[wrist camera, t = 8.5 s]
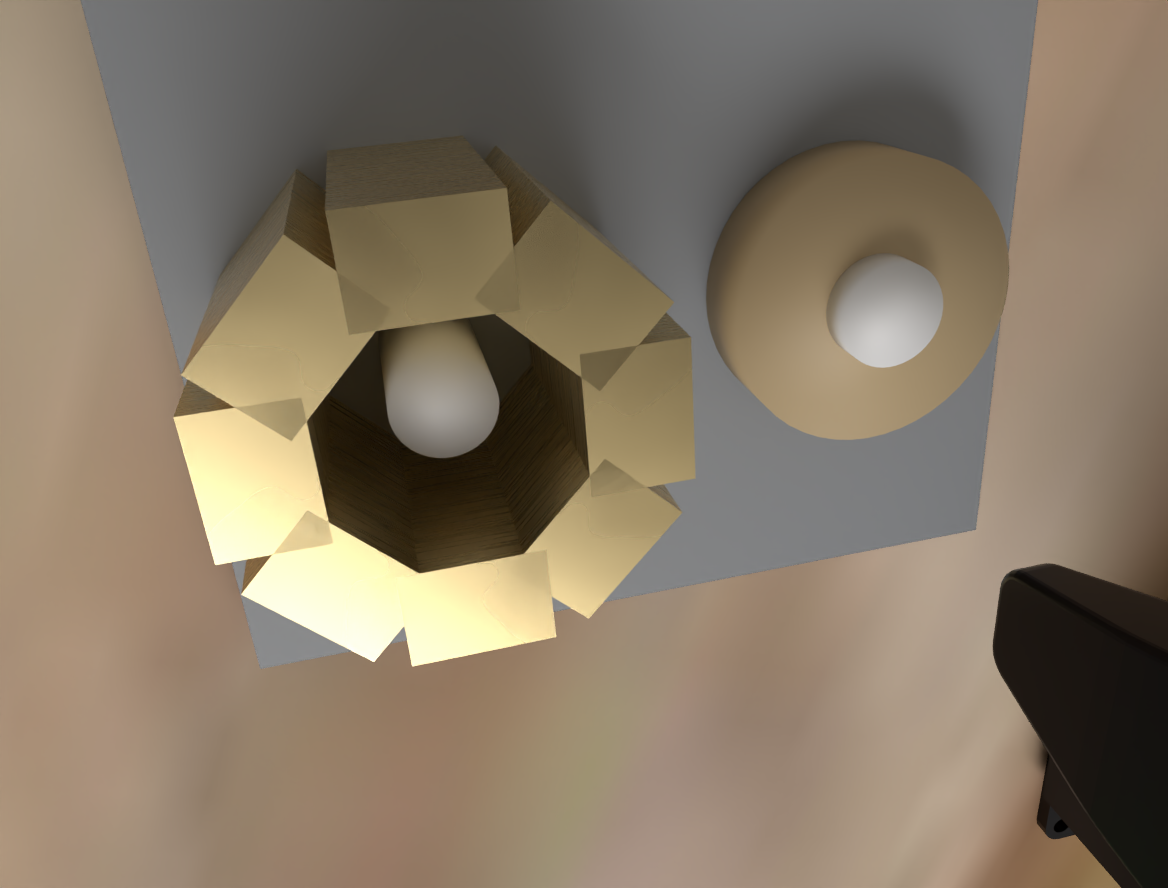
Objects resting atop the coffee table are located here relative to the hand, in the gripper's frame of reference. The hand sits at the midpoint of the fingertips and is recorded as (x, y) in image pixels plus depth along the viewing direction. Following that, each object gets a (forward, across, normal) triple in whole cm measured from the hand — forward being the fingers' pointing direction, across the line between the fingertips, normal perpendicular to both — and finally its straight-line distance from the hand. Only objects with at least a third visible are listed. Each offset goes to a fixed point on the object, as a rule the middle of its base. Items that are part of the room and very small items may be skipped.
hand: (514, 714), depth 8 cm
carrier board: (+11, -4, 0) cm, 11 cm away
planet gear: (+10, 0, 0) cm, 10 cm away
